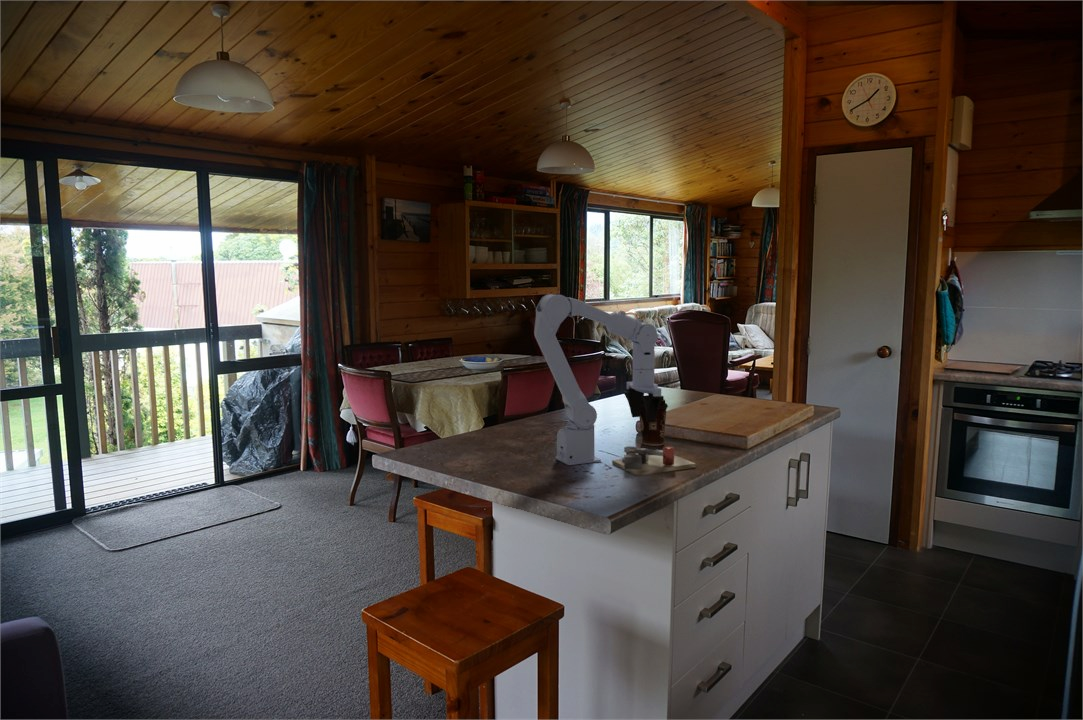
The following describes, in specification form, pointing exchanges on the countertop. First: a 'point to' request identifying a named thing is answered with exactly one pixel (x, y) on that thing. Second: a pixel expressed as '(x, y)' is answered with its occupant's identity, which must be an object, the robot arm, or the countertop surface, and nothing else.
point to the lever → (653, 453)
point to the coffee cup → (653, 426)
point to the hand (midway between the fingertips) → (643, 419)
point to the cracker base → (650, 464)
